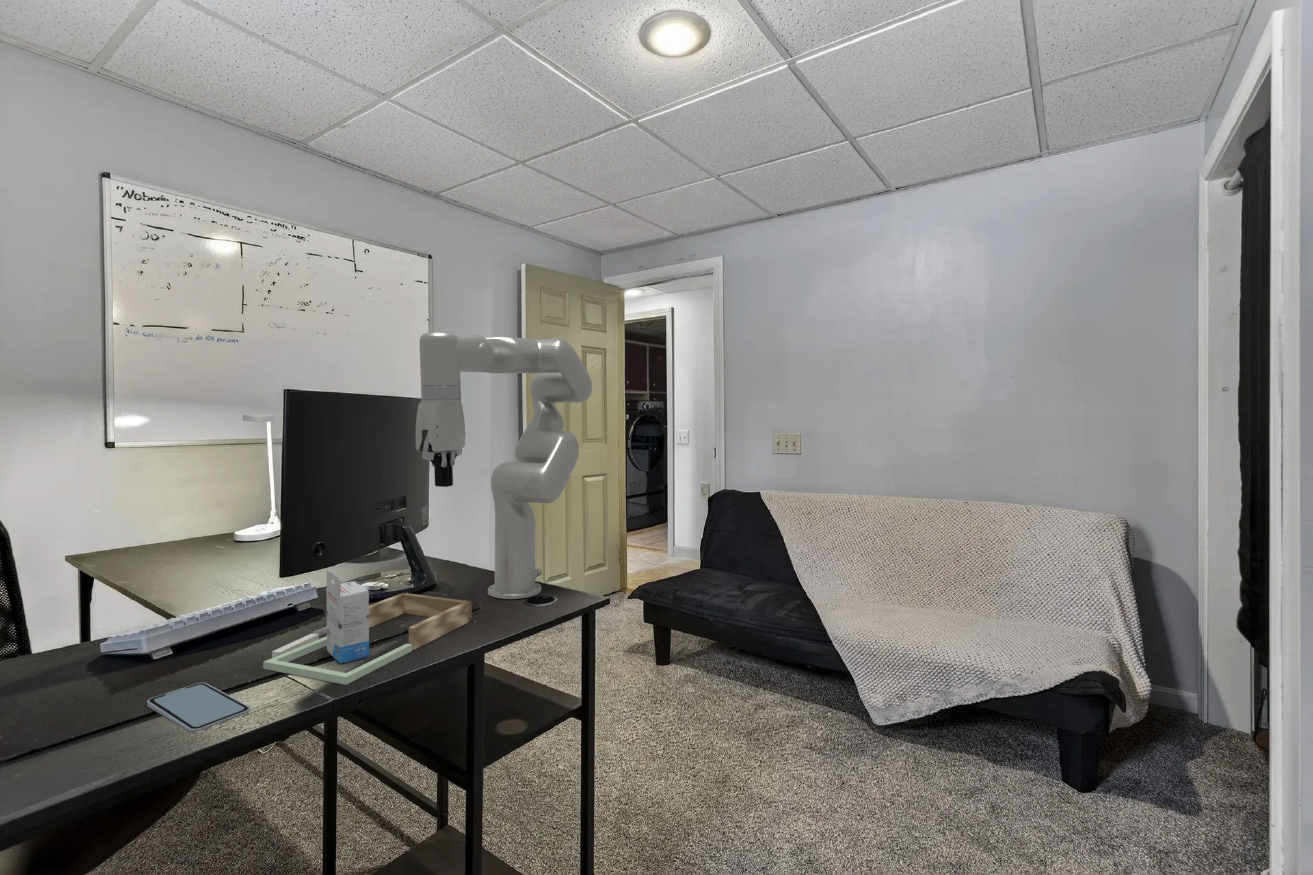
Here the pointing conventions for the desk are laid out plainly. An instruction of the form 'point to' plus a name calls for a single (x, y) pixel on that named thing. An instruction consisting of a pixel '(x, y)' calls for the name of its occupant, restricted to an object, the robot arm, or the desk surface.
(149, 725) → the desk surface
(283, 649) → the stick
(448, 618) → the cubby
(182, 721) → the smartphone
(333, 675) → the frame
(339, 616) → the ink box
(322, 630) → the crook tool
